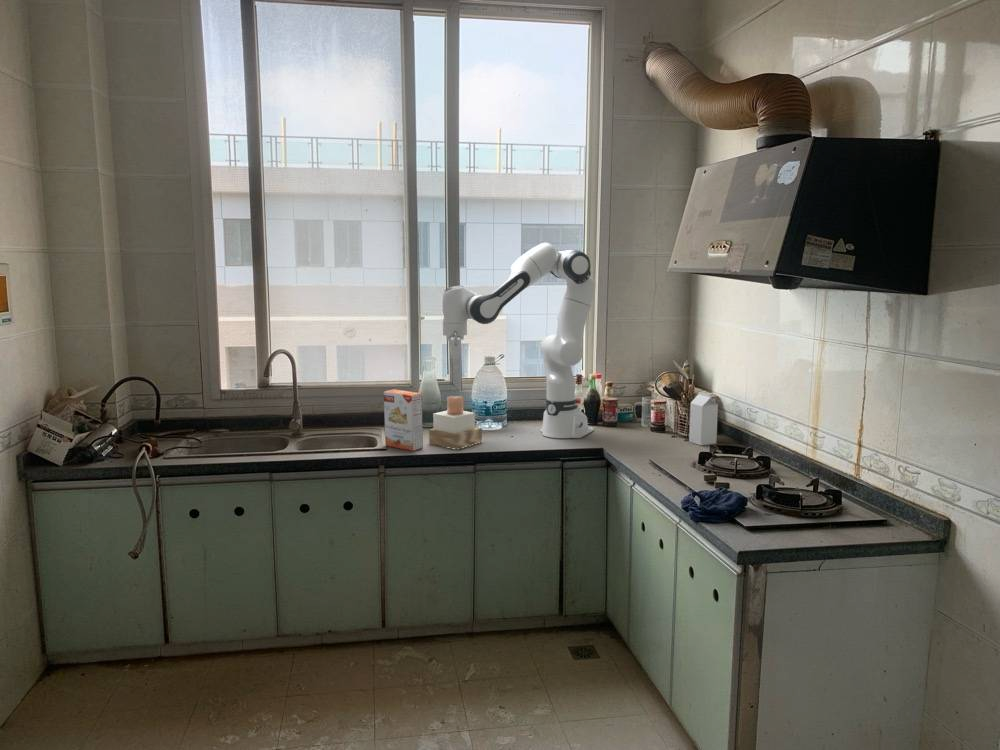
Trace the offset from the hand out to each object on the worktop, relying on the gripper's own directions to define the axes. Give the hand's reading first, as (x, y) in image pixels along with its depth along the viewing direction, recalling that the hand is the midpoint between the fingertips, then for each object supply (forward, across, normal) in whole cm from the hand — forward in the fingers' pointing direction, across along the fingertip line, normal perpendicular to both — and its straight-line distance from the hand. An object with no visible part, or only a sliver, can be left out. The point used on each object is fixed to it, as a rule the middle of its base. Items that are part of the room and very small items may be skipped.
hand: (455, 367), depth 274 cm
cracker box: (+29, -4, +20) cm, 35 cm away
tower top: (+23, 0, +1) cm, 23 cm away
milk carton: (+29, -8, -92) cm, 97 cm away
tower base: (+29, 0, 0) cm, 29 cm away
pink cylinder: (+17, 0, 0) cm, 17 cm away
